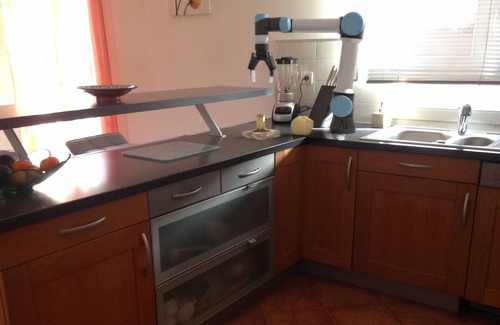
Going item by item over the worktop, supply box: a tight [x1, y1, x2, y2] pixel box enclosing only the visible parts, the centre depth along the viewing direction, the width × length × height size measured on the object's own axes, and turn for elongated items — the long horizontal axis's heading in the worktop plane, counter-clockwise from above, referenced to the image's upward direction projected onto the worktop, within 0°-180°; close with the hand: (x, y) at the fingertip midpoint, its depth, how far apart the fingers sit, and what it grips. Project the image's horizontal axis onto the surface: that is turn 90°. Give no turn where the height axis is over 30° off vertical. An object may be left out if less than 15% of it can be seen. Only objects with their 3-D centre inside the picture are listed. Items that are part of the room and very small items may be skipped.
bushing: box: [255, 113, 266, 132], centre depth 242 cm, size 5×5×12 cm
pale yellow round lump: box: [290, 115, 315, 136], centre depth 246 cm, size 12×12×11 cm
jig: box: [241, 128, 281, 141], centre depth 243 cm, size 14×16×3 cm
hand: (261, 82), depth 250 cm, fingers open, 13 cm apart
